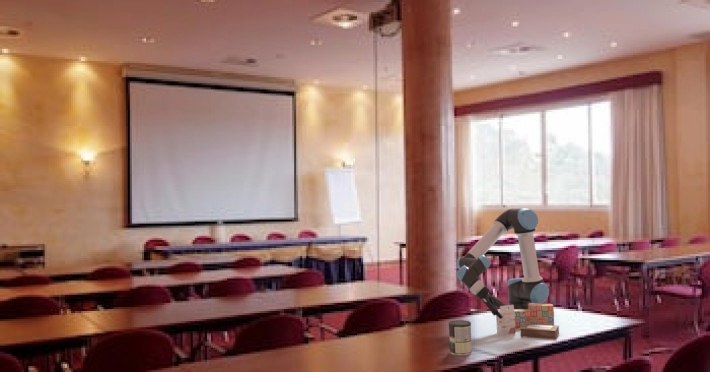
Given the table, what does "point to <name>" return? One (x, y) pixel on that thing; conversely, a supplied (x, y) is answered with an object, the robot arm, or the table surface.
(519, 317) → the stack of blocks
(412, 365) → the table surface
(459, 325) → the coffee can
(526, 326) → the walnut plinth
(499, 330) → the ink cartridge box
